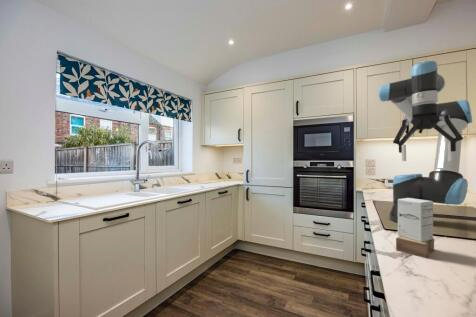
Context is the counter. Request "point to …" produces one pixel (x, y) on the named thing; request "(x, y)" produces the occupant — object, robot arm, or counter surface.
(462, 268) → the counter surface
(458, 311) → the counter surface
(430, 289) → the counter surface
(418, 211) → the supplement box
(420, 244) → the brown wooden block
